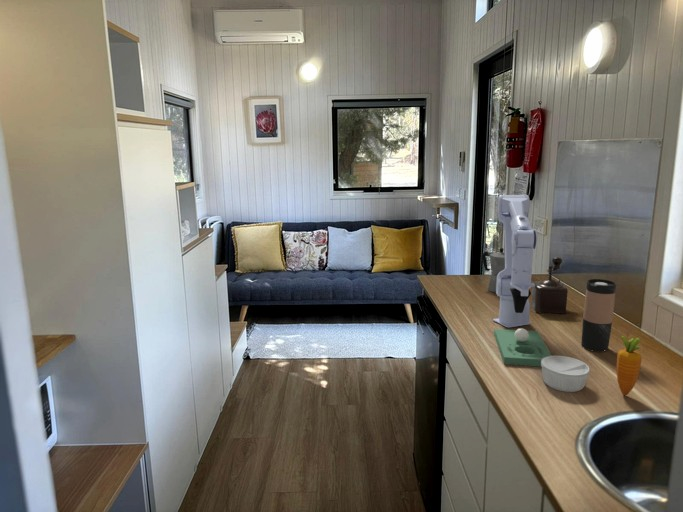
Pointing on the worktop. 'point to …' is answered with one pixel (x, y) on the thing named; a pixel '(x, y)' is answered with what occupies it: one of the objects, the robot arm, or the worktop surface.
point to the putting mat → (521, 348)
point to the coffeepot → (494, 266)
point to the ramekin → (564, 373)
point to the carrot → (628, 365)
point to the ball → (521, 334)
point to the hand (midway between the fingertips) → (518, 312)
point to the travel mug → (598, 314)
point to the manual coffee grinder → (550, 293)
